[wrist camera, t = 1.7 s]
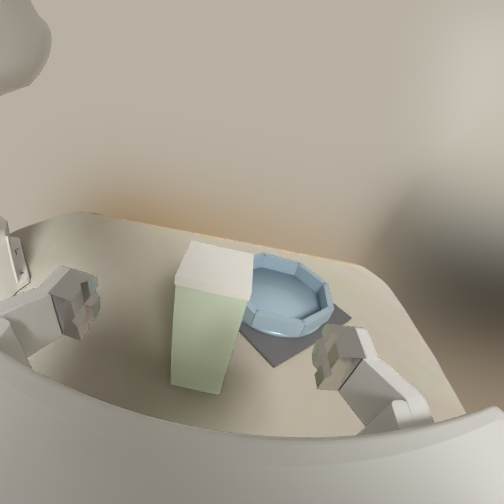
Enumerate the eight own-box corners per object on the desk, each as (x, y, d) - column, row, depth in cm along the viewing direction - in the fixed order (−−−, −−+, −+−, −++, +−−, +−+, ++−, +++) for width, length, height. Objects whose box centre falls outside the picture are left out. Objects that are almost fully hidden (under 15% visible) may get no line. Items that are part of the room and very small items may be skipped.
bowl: (202, 280, 44) (205, 264, 42) (277, 262, 55) (281, 248, 53) (272, 355, 33) (279, 339, 32) (343, 314, 44) (350, 300, 43)
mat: (193, 278, 44) (193, 276, 44) (275, 259, 56) (275, 257, 56) (273, 367, 32) (274, 365, 32) (350, 319, 44) (351, 317, 44)
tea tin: (169, 384, 26) (174, 275, 19) (179, 348, 31) (192, 240, 24) (220, 395, 27) (251, 292, 20) (225, 357, 32) (253, 254, 25)
